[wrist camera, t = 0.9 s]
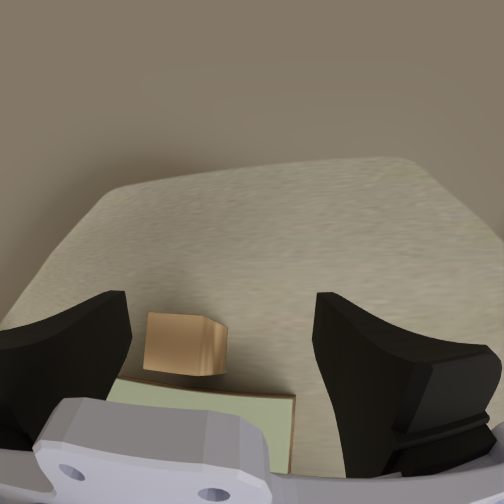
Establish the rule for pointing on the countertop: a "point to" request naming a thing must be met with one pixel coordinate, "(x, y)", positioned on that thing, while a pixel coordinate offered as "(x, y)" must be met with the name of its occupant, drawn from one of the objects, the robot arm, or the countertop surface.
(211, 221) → the countertop surface
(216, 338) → the oak key block
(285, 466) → the lid
